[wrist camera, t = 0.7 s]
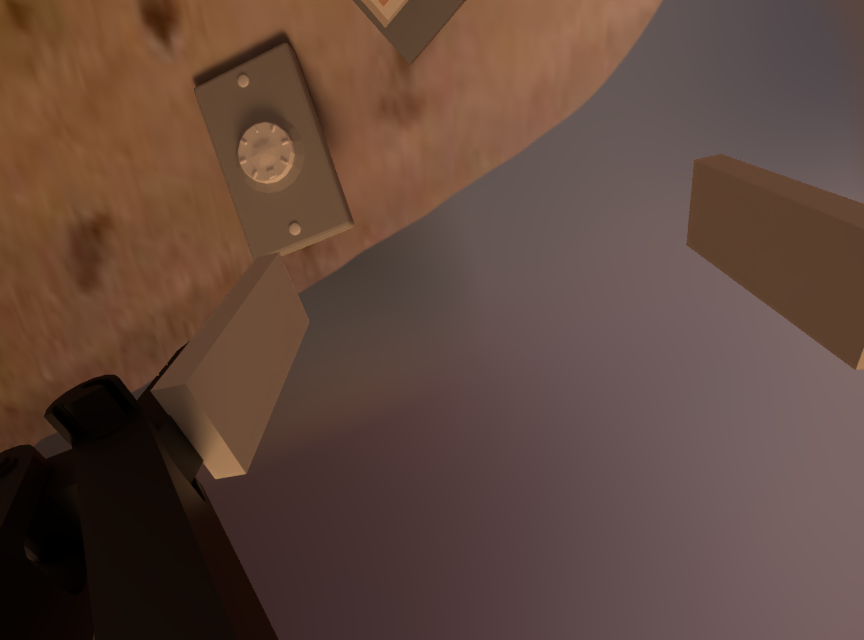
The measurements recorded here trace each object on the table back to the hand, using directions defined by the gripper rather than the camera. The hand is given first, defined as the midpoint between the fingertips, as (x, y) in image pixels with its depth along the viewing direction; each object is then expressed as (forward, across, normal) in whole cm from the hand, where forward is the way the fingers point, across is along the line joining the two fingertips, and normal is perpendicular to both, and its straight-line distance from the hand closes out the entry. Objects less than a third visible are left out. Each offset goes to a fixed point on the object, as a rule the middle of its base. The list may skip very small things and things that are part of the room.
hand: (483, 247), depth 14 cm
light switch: (+27, -14, +1) cm, 30 cm away
